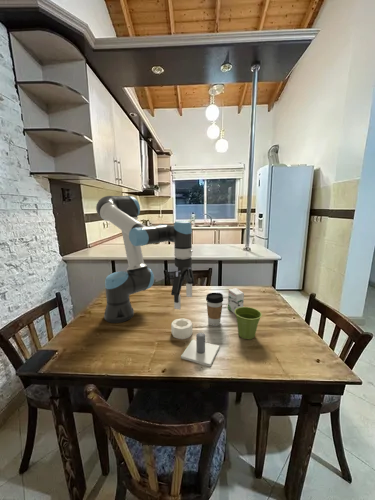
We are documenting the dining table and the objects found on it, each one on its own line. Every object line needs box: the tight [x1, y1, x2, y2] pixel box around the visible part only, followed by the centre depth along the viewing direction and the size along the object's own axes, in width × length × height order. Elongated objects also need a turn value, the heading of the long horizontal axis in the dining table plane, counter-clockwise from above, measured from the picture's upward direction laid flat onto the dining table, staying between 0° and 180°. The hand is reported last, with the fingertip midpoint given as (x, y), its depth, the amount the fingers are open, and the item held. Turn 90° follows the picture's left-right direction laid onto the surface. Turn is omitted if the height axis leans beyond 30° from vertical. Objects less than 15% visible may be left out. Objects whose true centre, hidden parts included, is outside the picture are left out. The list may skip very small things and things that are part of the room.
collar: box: [170, 317, 193, 340], centre depth 107 cm, size 9×9×5 cm
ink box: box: [227, 287, 245, 315], centre depth 128 cm, size 9×5×12 cm, turn 23°
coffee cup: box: [205, 292, 224, 327], centre depth 115 cm, size 8×8×15 cm
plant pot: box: [234, 306, 263, 340], centre depth 104 cm, size 12×12×11 cm
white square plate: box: [180, 332, 220, 367], centre depth 92 cm, size 12×12×8 cm
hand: (183, 302), depth 105 cm, fingers open, 13 cm apart
